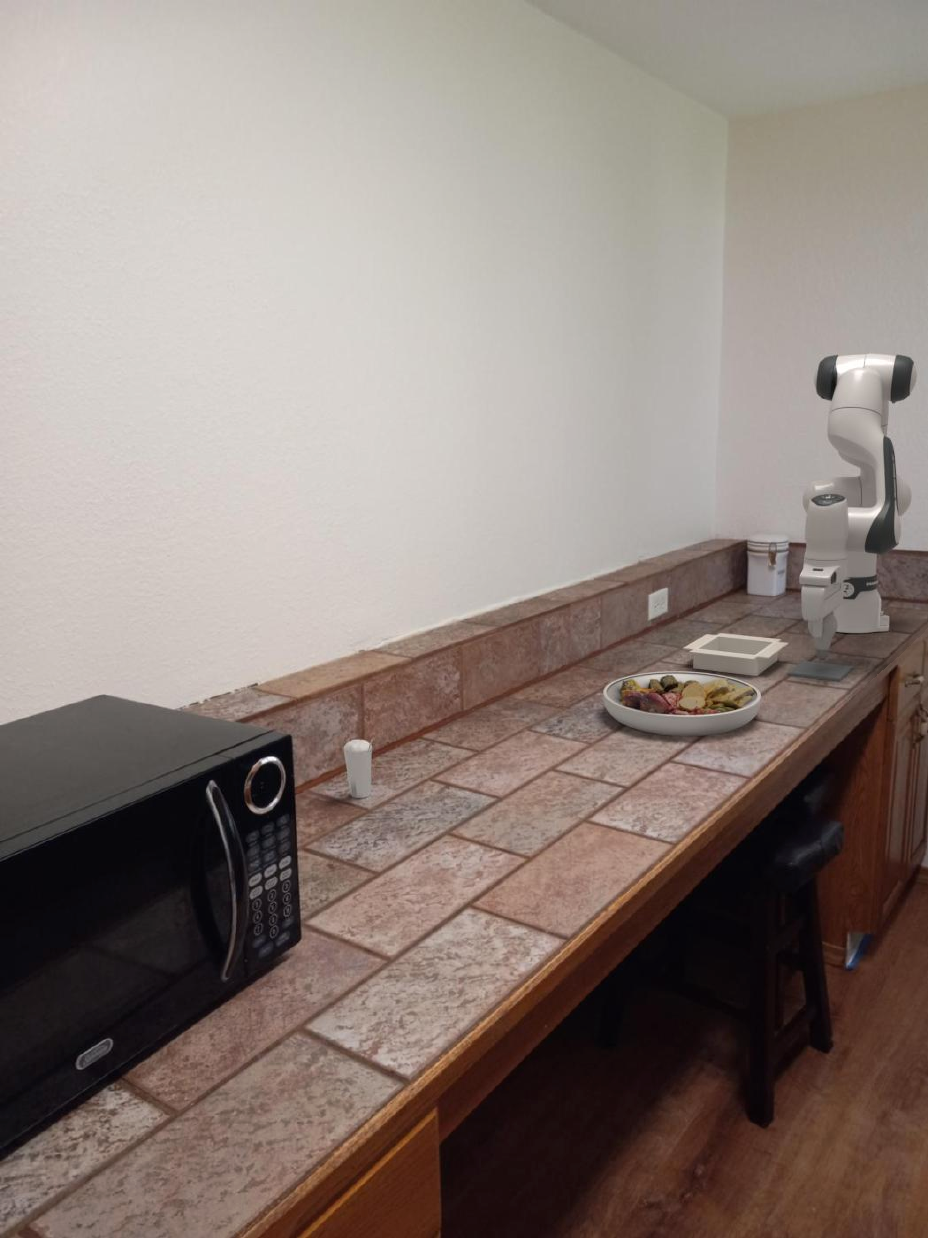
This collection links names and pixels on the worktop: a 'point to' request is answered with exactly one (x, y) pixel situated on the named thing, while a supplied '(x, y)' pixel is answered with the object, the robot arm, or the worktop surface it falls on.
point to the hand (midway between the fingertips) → (822, 632)
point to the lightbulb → (824, 636)
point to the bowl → (682, 702)
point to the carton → (735, 653)
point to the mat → (820, 670)
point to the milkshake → (359, 767)
